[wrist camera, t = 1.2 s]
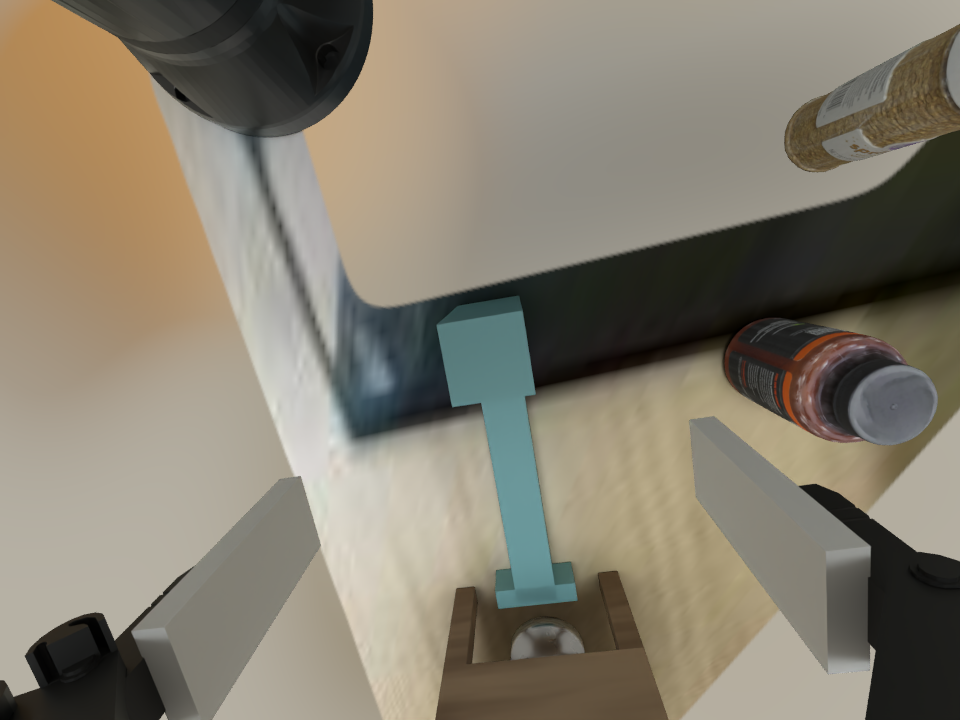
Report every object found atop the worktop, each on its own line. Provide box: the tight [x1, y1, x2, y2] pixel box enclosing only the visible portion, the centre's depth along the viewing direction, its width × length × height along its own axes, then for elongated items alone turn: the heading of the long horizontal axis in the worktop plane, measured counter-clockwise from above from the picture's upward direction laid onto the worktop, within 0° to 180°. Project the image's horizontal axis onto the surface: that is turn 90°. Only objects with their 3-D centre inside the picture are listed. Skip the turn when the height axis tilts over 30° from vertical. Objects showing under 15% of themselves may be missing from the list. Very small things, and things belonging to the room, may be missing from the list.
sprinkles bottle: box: [784, 24, 960, 172], centre depth 23 cm, size 5×5×13 cm
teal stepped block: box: [437, 296, 578, 609], centre depth 31 cm, size 23×6×10 cm, turn 10°
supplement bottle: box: [724, 318, 938, 445], centre depth 27 cm, size 6×6×11 cm
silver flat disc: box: [511, 617, 585, 660], centre depth 39 cm, size 6×6×2 cm
